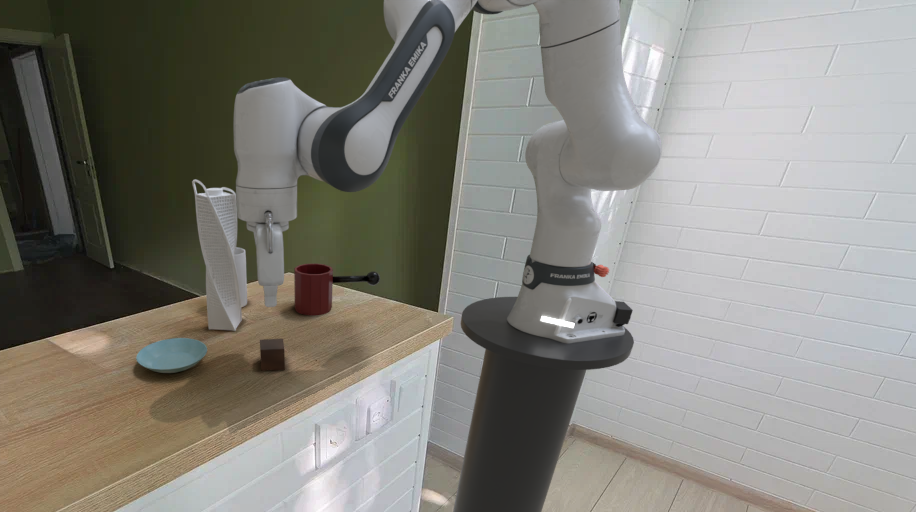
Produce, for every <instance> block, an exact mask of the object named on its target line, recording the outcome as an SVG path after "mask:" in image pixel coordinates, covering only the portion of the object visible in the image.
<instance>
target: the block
mask: <svg viewBox="0 0 916 512" xmlns="http://www.w3.org/2000/svg"><path fill="white" fill-rule="evenodd" d="M259 351H260V352H259V353H260V354H259V355H260V370H261V372H263V371H267V372H268V371H284V370H286V362H285V361H286V358H285V357H286V355H285V353H286V351H285V343H284V338H267V339H259Z"/></svg>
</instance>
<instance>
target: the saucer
mask: <svg viewBox="0 0 916 512" xmlns="http://www.w3.org/2000/svg"><path fill="white" fill-rule="evenodd" d="M207 353H208V347H207V345H206V344H205V343H204V342H202V341H201V340H198V339H195V338H190V337H189V338H188V337H173V338H167V339H166V338H165V339H162V340H157V341H155V342H152V343H150V344H148V345H146V346H144V347H142V348H141V349H140V350H139V351H138V353H137V354H136V357H135V359H136V363H138V364H139V365H140V366H142V367H143V368H145V369H148V370H150V371H152V372H155V373H161V374H175V373H179V372H180V373H181V372H183V371H187V370H189V369H191V368H193V367H194V366H196V365H198V363H200V362H201V361H202V360H203V358H204V357H205V356H206V355H207Z"/></svg>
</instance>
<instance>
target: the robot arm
mask: <svg viewBox="0 0 916 512" xmlns="http://www.w3.org/2000/svg"><path fill="white" fill-rule="evenodd" d="M620 3H621V2H620V0H383V8H382V9H383V19H384V23H385V27H386V30H387V33H388V34H389V36H390V37H391V39H392V41H393V42H394V44H393V47H392V48H391V50H390V52H389V53H388V54H387V56H386V57H385V59H384V61H383V63H382V64H381V65H380V67H379V69H378V70H377V72H376V74H375V75H374V77H373V78H372V79H371V82H370V83H369V85H368V86H367V88H366V89H365V91H364V92H363V94H362V95H361V96H360V97H358V98H357V99H355V100H354V101H352V102H351V103H348V104H346V105H344V106H340V107H333V106H327V105H326V104H324V103H322V102H320V101H318V100H317V99H315V98H313V97H311V96H309V95H308V94H307V93H305V92H304V91H302V90H301V89H300V88H299V87H298V86H296V84H295V83H294V82H293V81H292V80H291V78H288V77H285V76H284V77H283V76H278V77H273V78H266V79H260V80H256V81H251V82H248V83H245V84H244V85H242V86H241V87H240V88H239V89H238V91H237V92H236V95H235V99H234V105H233V107H234V108H233V130H232V131H233V153H234V156H235V158H236V159H235V160H236V163H237V174H236V177H235V178H236V179H235V194H236V205H237V219H239V220H241V221H244V222H246V229H247V230H248V231H249V232H252V233H253V237H254V244H255V249H256V251H255V252H256V272H257V275H256V276H257V282H258V285H259V286H261V287H263V296H264V297H263V298H264V306H265V307H267V308H274V307H276V306H277V305H278V304H277V303H278V301H277V298H278V296H277V295H278V288H279V286H282V285H283V284H284V283H285V253H284V252H285V251H284V250H285V249H284V248H285V247H284V234H283V232H287V231H288V230H289V229H290V224H289V223H290V222H291V221H293V220H295V219H297V218H298V179H299V177H301V176H308V177H310V178H313V179H315V180H317V181H321V182H324V183H326V184H327V185H328V186H331V187H332V188H335V190H338V191H340V192H344V193H356V192H360V191H363V190H366V189H368V188H369V187H370V186H372V185H373V184H374V183H376V182H377V181H378V180H379V179H380V177H381V176H382V175H383V173H384V172H385V170H386V168H387V166H388V163H389V162H390V159H391V156H392V153H393V150H394V147H395V145H396V141H397V138H398V135H399V134H400V132H401V130H402V128H403V126H404V124H405V123H406V121H407V119H408V118H409V116H410V115H411V113H412V111H413V109H414V108H415V106H416V105H417V103H418V101H420V99H421V96H422V95H423V94H424V92H425V91H426V89H427V87H428V86H429V84H430V82H431V81H432V79H433V78H434V76H435V75H436V73H437V71H438V70H439V68H440V67H441V65H442V63H443V62H444V60H445V58H446V56H447V54H448V52H449V50H450V48H451V45H452V43H453V41H454V37H455V33H456V31H457V30H458V29H459V27H460V26H461V25H462V23H463V22H464V20H465V19H466V18H467V16H468V15H469V13H470V12H471V11H474V12H476V13H478V14H482V15H498V14H501V13H503V12H507V11H512V10H513V11H514V10H518V9H522V8H525V7H529V6H531V5H533V6H534V7H535V10H536V11H537V13H538V15H539V16H538V17H539V18H538V27H539V43H540V55H541V64H542V75H543V84H544V85H543V86H544V93H545V96H546V99H547V100H548V101H549V103H550V104H551V105H553V107H554V108H556V110H557V111H558V112H559V114H560V115H561V118H562V119H561V120H556V121H552V122H549V123H546V124H543V125H542V126H540V127H539V128H538V129H536V130H535V132H534V133H533V134H531V137H530V138H529V140H528V142H527V145H526V148H525V156H524V157H525V163H526V166H527V168H528V169H529V171H530V173H531V175H532V177H533V180H534V186H535V191H536V192H535V193H536V203H537V205H536V207H537V209H536V210H537V212H536V213H537V214H536V222H535V228H534V232H533V233H534V234H533V238H532V244H531V247H530V253H529V254H528V255H527V256H526V260H525V264H524V269H523V272H522V279H521V285H520V286H521V287H520V289H519V292H518V295H517V296H516V297H517V300H516V302H515V304H514V306H513V308H512V310H511V312H510V314H509V315H508V317H507V321H508V322H509V324H510V325H512V326H513V327H515V328H516V329H518V330H521V331H523V332H526V333H529V334H532V335H536V336H540V337H545V338H550V339H553V340H556V341H559V342H562V343H568V344H569V343H576V342H583V341H589V340H596V339H602V338H608V337H615V336H621V335H624V333H625V329H624V327H625V326H624V325H629V322H630V320H631V317H632V313H633V309H632V307H630V306H629V304H627V303H626V302H625V301H621V300H620V301H618V300H615V299H614V298H613V297H612V296H611V295H610V294H609V293H608V292H607V291H606V290H605V289H604V288H603V287H602V286H601V285H600V284H599V283H598V282H597V281H596V277H595V276H599V277H601V278H605V277H607V276H608V275H609V273H610V268H609V267H607V266H604V265H603V264H597V265H596V263H594V262H593V256H594V253H595V251H596V247H597V243H598V240H599V236H600V234H601V231H602V230H601V229H602V220H601V217H600V215H599V213H598V211H596V209H595V207H594V204H593V200H592V190H593V191H594V190H595V191H599V192H600V191H601V192H615V191H618V192H619V191H629V190H632V189H636V188H638V187H639V186H641V185H642V184H644V183H645V182H646V181H647V180H648V179H649V178H650V177H651V176H652V175H653V173H654V172H655V171H656V169H657V167H658V165H659V163H660V161H661V158H662V152H663V144H662V138H661V135H660V134H659V133H658V131H657V130H656V129H654V128H653V127H652V126H650V125H649V123H647V122H646V121H645V119H644V118H643V116H642V115H641V113H640V112H639V110H638V109H637V107H636V105H635V103H634V100H633V98H632V96H631V93H630V90H629V88H628V84H627V81H626V78H625V73H624V67H623V53H622V51H623V49H622V34H621V33H622V32H621V4H620ZM623 326H624V327H623Z"/></svg>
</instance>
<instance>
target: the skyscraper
mask: <svg viewBox="0 0 916 512" xmlns="http://www.w3.org/2000/svg"><path fill="white" fill-rule="evenodd" d="M191 184H192V188H193V192H194V202H195V215H196V224H197V225H196V227H197V232H198V239H199V240H198V241H199V244H200V250H201V255H202V257H203V258H202V259H203V260H204V261H203V262H204V265H205V292H206V293H205V294H206V295H205V296H206V297H205V299H206V313H207V326H208V327H207V328H208V330H217V331H218V330H220V331H233V332H236V330H237V329H238V327H239V325H240V323H241V322H243V313H242V307H241V298H240V289H239V281H238V275H237V270H236V265H235V261H234V259H235V252H236V247H237V242H238V213H237V194H236V191H234V190H233V189H231V188H229V187H227V186H222V187H210V188H207V187H206V185H204V183H203V182H202V181H201V180H199V179H196V178H195V179H193V180H192V181H191ZM196 184H199V185H200V186H201V187H202V188H203V190H204V192H201V193H200V192H199V193H198V191H197V186H196ZM226 191H227V192H226Z"/></svg>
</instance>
